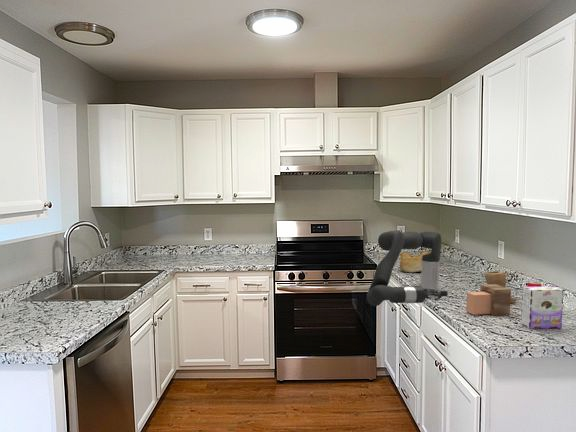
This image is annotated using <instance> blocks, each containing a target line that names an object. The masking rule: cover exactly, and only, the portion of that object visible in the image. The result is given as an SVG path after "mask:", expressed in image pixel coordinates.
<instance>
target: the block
mask: <svg viewBox="0 0 576 432" xmlns="http://www.w3.org/2000/svg"><path fill="white" fill-rule="evenodd" d="M465 311H466V312H467V313H469V314H471V315H473V316H476V315H491V311H492V293H491V292H488V291H485V292H480V291H468V292H466V307H465Z"/></svg>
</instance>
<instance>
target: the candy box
mask: <svg viewBox="0 0 576 432" xmlns="http://www.w3.org/2000/svg"><path fill="white" fill-rule="evenodd" d="M563 296H564V289H562V288H559V287H557V286H542V287H527V286H522V296H521V297H522V298H521V300H522V301H521V302H522V303H521V314H520V315H521V318H520V324H521V325H523V326H524V327H526V328H527V329H562V325H563V324H562V319H563V300H564V299H563V298H564V297H563Z"/></svg>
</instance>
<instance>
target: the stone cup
mask: <svg viewBox="0 0 576 432" xmlns="http://www.w3.org/2000/svg"><path fill="white" fill-rule="evenodd" d="M484 279H485V282H486V284H497V285H500V286H503V287H506V285H507V275H506V272H505V271H500V270H493V271H491V270H490V271H486V272H485V274H484ZM517 301H518V300H517V299H516V298H514V297H512V296H511V301H510V304H513V303H515V302H517Z"/></svg>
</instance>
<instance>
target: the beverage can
mask: <svg viewBox="0 0 576 432" xmlns="http://www.w3.org/2000/svg"><path fill="white" fill-rule="evenodd" d="M526 287H543V286H542V283H541V282H539V281H535V280H534V281H533V280H529V281H528V282H527V284H526Z"/></svg>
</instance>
